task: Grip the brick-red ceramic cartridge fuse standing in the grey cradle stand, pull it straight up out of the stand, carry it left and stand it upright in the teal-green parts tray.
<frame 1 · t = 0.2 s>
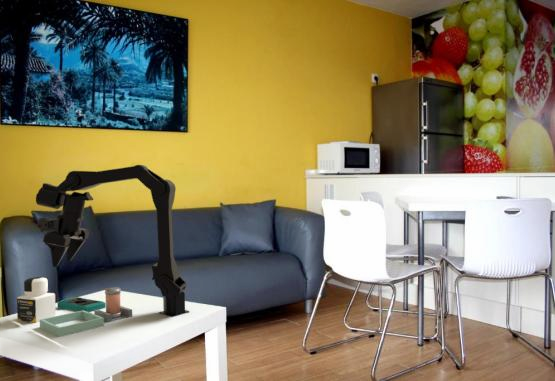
hand: (61, 263, 141), 15 cm above the table, tool pointing down, fingers open, 9 cm apart
medicine bottle: (36, 320, 136), on the table
fuse: (113, 316, 137), resting on grey cradle stand
tray: (72, 327, 128), on the table
digital multimeter: (81, 310, 148), on the table
grey cradle stand: (113, 318, 137), on the table
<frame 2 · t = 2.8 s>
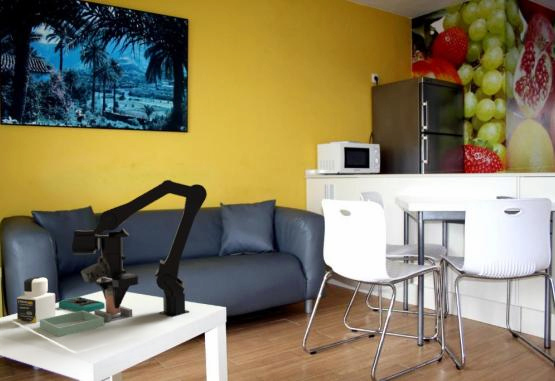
hand: (113, 307, 137), 3 cm above the table, tool pointing down, fingers closed on fuse, 4 cm apart
fuse: (113, 316, 137), resting on grey cradle stand, touching gripper
everything else where it was.
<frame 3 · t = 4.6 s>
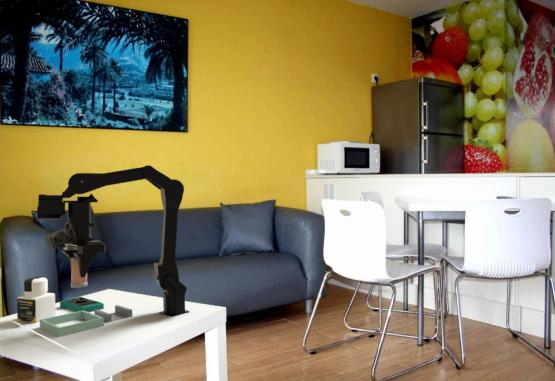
hand: (79, 276, 130), 14 cm above the table, tool pointing down, fingers closed on fuse, 4 cm apart
fuse: (79, 286, 130), point 11 cm above the table, touching gripper
everything else where it was.
when the fingers open (5 cm above the table, at t = 6.7 s): fuse drops 1 cm, resting on tray.
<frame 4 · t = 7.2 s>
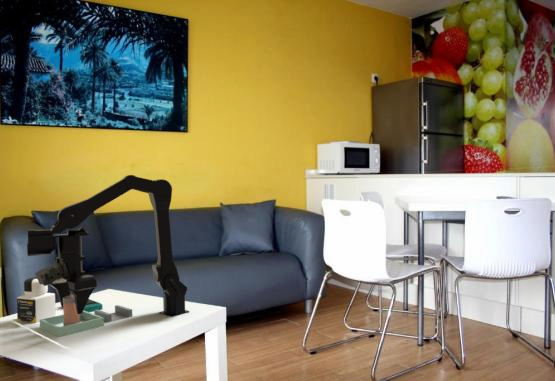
hand: (71, 310, 128), 5 cm above the table, tool pointing down, fingers open, 9 cm apart
fuse: (72, 326, 128), resting on tray
everything else where it was.
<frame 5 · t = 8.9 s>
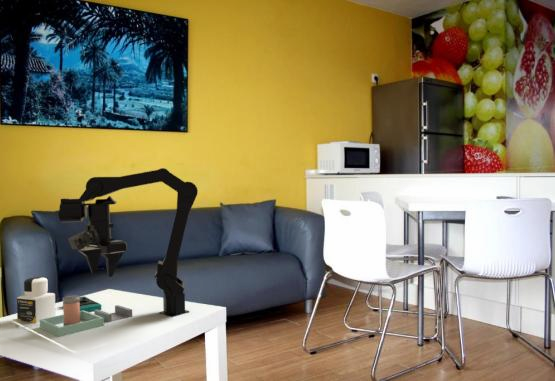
hand: (102, 275, 136), 13 cm above the table, tool pointing down, fingers open, 9 cm apart
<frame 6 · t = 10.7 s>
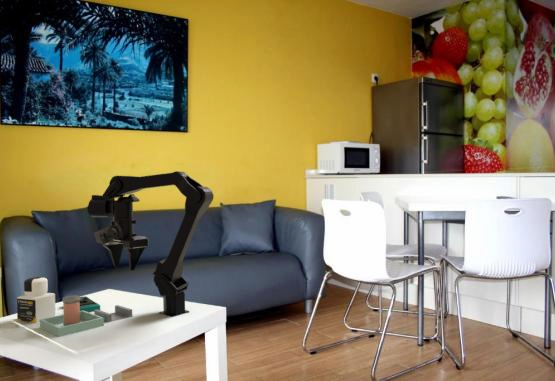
hand: (124, 268, 144), 13 cm above the table, tool pointing down, fingers open, 9 cm apart
at the end: fuse inside the target area on the tray (0.0 cm from its centre), point 0.3 cm above the tray's base; fuse tilted 0°; the gripper is holding nothing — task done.
